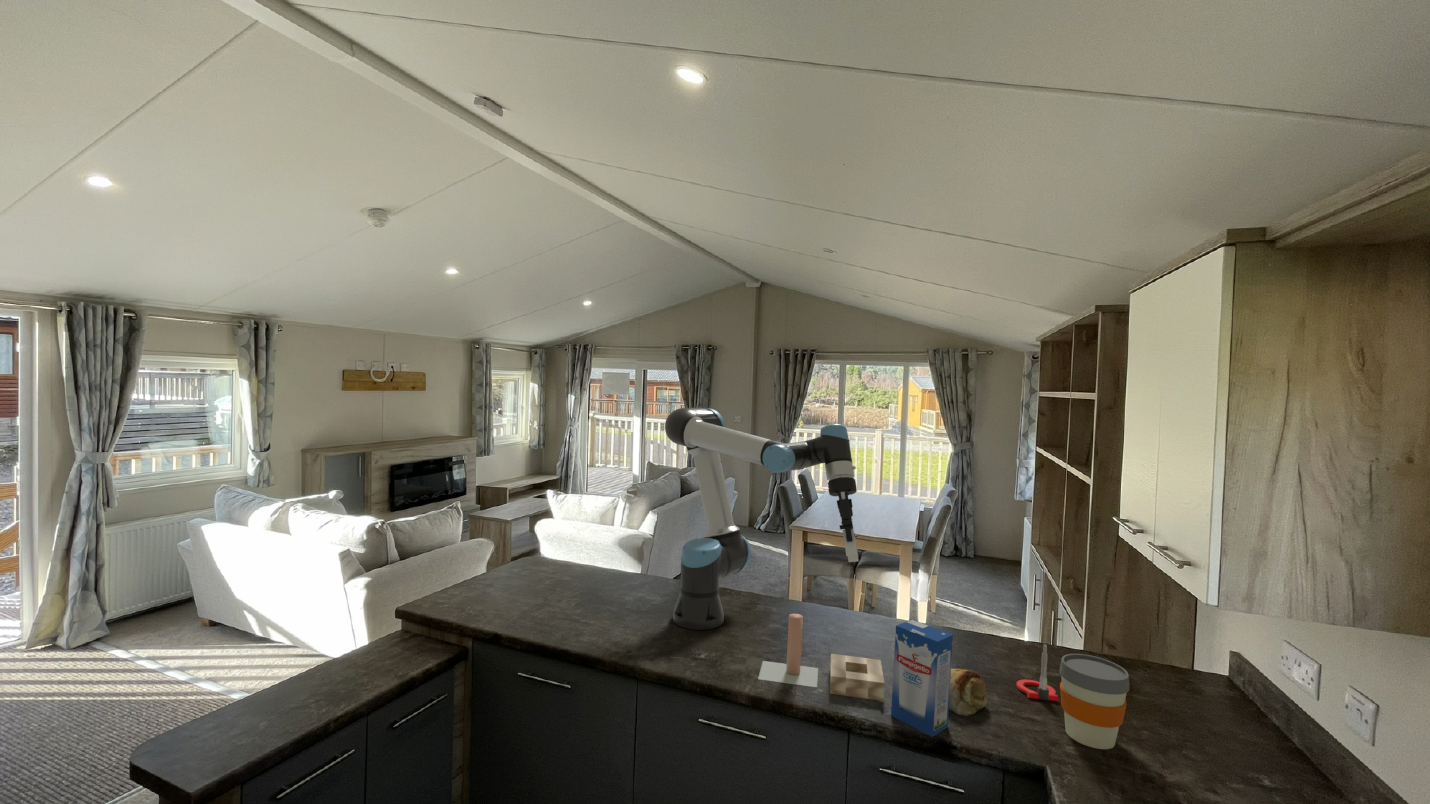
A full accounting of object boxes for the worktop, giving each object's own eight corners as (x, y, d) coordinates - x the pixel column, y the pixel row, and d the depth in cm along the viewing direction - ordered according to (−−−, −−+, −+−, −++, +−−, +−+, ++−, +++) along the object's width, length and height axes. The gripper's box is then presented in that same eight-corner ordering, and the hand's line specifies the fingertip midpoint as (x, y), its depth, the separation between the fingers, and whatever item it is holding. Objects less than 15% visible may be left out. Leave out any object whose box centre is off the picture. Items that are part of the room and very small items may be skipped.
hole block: (829, 694, 140) (830, 675, 140) (830, 671, 152) (831, 653, 152) (883, 702, 138) (884, 683, 138) (879, 677, 150) (880, 659, 150)
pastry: (983, 723, 131) (985, 686, 131) (923, 706, 137) (925, 671, 137) (989, 695, 144) (991, 662, 144) (934, 680, 150) (935, 648, 150)
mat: (757, 680, 145) (757, 679, 145) (762, 662, 155) (762, 660, 155) (816, 688, 143) (817, 687, 143) (818, 669, 153) (818, 668, 153)
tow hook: (1011, 682, 152) (1024, 699, 142) (1013, 630, 152) (1027, 644, 143) (1047, 686, 150) (1063, 703, 141) (1049, 634, 151) (1065, 648, 141)
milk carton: (890, 715, 132) (895, 625, 132) (906, 706, 136) (911, 619, 136) (932, 737, 125) (937, 641, 124) (948, 727, 129) (953, 634, 128)
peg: (785, 674, 148) (788, 617, 148) (786, 668, 152) (789, 612, 151) (799, 676, 148) (802, 619, 147) (800, 669, 151) (803, 614, 151)
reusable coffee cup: (1053, 739, 126) (1057, 668, 126) (1058, 713, 136) (1062, 648, 136) (1125, 762, 119) (1130, 687, 119) (1125, 733, 130) (1129, 664, 129)
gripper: (853, 466, 154) (866, 551, 146) (856, 488, 177) (868, 562, 169) (823, 470, 156) (835, 554, 148) (830, 491, 178) (840, 565, 170)
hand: (852, 558), depth 158 cm, fingers open, 13 cm apart
